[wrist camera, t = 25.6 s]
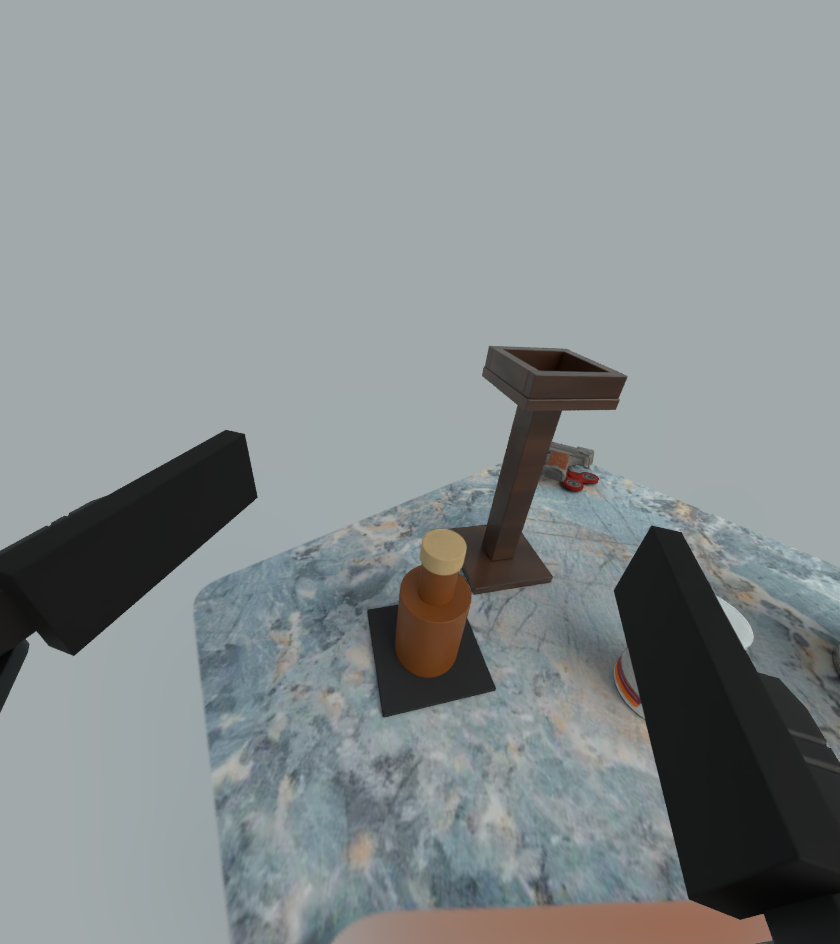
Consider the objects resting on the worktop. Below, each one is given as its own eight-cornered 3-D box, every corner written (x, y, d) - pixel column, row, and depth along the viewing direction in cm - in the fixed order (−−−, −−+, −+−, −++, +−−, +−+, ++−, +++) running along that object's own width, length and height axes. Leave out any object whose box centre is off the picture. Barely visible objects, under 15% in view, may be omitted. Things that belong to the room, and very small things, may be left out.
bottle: (466, 670, 32) (497, 568, 25) (402, 684, 30) (415, 580, 23) (446, 613, 37) (467, 514, 30) (389, 623, 35) (397, 521, 28)
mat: (495, 690, 31) (496, 688, 31) (383, 717, 28) (383, 715, 28) (457, 597, 39) (457, 595, 39) (367, 611, 37) (367, 609, 36)
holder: (550, 582, 42) (639, 378, 29) (473, 594, 40) (532, 376, 26) (512, 527, 50) (568, 347, 37) (446, 534, 48) (480, 344, 34)
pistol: (564, 484, 58) (599, 462, 64) (566, 472, 57) (601, 450, 63) (478, 456, 71) (514, 440, 78) (478, 445, 70) (515, 430, 77)
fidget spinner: (547, 469, 66) (549, 463, 65) (584, 470, 66) (586, 464, 66) (567, 493, 59) (569, 486, 58) (608, 493, 60) (611, 486, 59)
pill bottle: (695, 698, 32) (773, 623, 26) (670, 747, 29) (754, 673, 23) (628, 646, 36) (682, 570, 30) (599, 683, 32) (653, 606, 26)
